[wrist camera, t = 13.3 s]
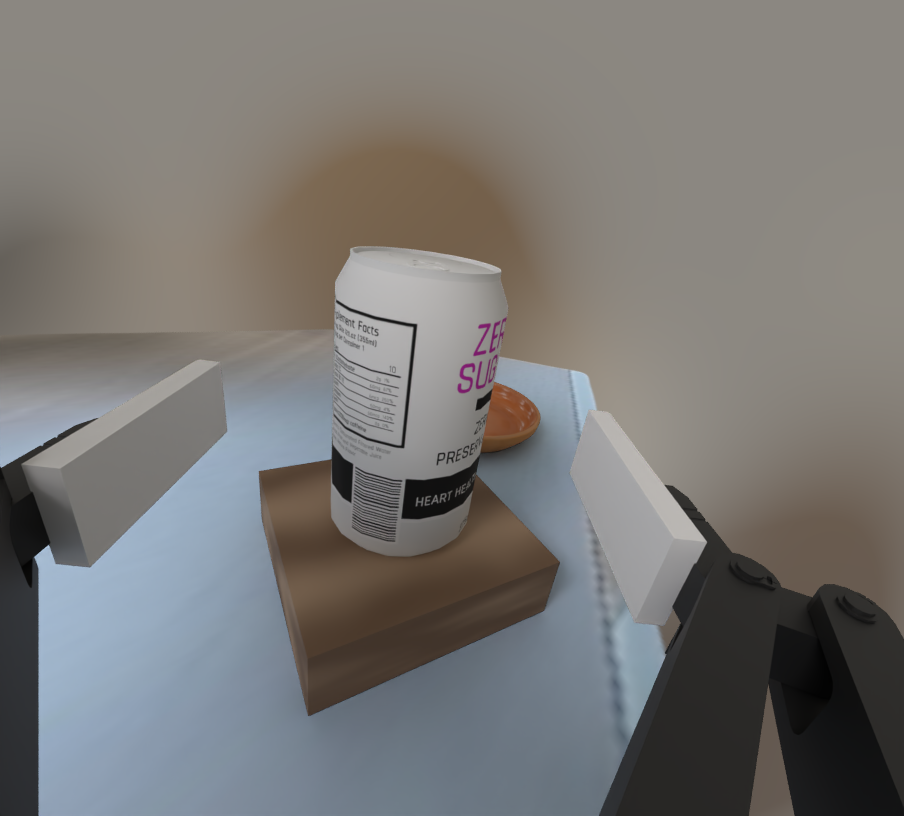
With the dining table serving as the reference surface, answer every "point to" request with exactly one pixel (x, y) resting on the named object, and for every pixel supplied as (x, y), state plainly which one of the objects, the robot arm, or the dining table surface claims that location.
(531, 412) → the saucer
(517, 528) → the podium
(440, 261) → the supplement can
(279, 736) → the dining table surface
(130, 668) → the dining table surface
